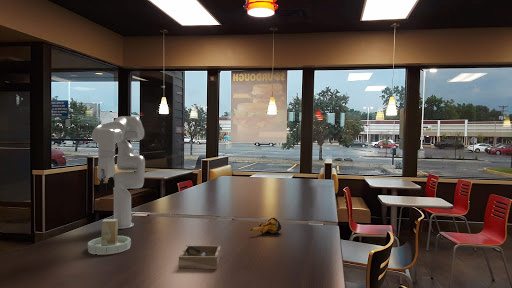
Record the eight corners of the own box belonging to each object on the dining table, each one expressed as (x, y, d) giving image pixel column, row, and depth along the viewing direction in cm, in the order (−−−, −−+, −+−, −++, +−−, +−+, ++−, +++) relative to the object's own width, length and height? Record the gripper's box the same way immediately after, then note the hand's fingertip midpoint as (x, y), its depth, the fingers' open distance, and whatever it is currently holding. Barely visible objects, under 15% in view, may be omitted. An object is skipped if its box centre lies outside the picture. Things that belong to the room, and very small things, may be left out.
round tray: (99, 242, 169) (99, 235, 169) (135, 242, 169) (135, 235, 169) (80, 254, 151) (80, 246, 151) (121, 254, 151) (121, 247, 151)
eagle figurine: (206, 255, 147) (185, 252, 146) (209, 244, 144) (187, 241, 142) (204, 271, 141) (182, 268, 140) (207, 259, 137) (185, 256, 136)
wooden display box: (186, 255, 151) (186, 245, 151) (220, 255, 151) (220, 245, 151) (178, 268, 136) (178, 256, 136) (216, 268, 136) (216, 257, 136)
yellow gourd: (287, 225, 187) (264, 219, 176) (277, 242, 188) (254, 237, 177) (278, 216, 194) (255, 209, 183) (268, 232, 195) (245, 227, 184)
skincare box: (100, 247, 158) (100, 221, 158) (103, 245, 162) (103, 219, 162) (115, 247, 159) (115, 220, 159) (118, 244, 163) (118, 218, 163)
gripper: (106, 152, 176) (106, 186, 177) (90, 155, 159) (91, 192, 160) (121, 153, 176) (121, 186, 177) (107, 156, 159) (107, 192, 160)
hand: (107, 189), depth 168 cm, fingers open, 9 cm apart
